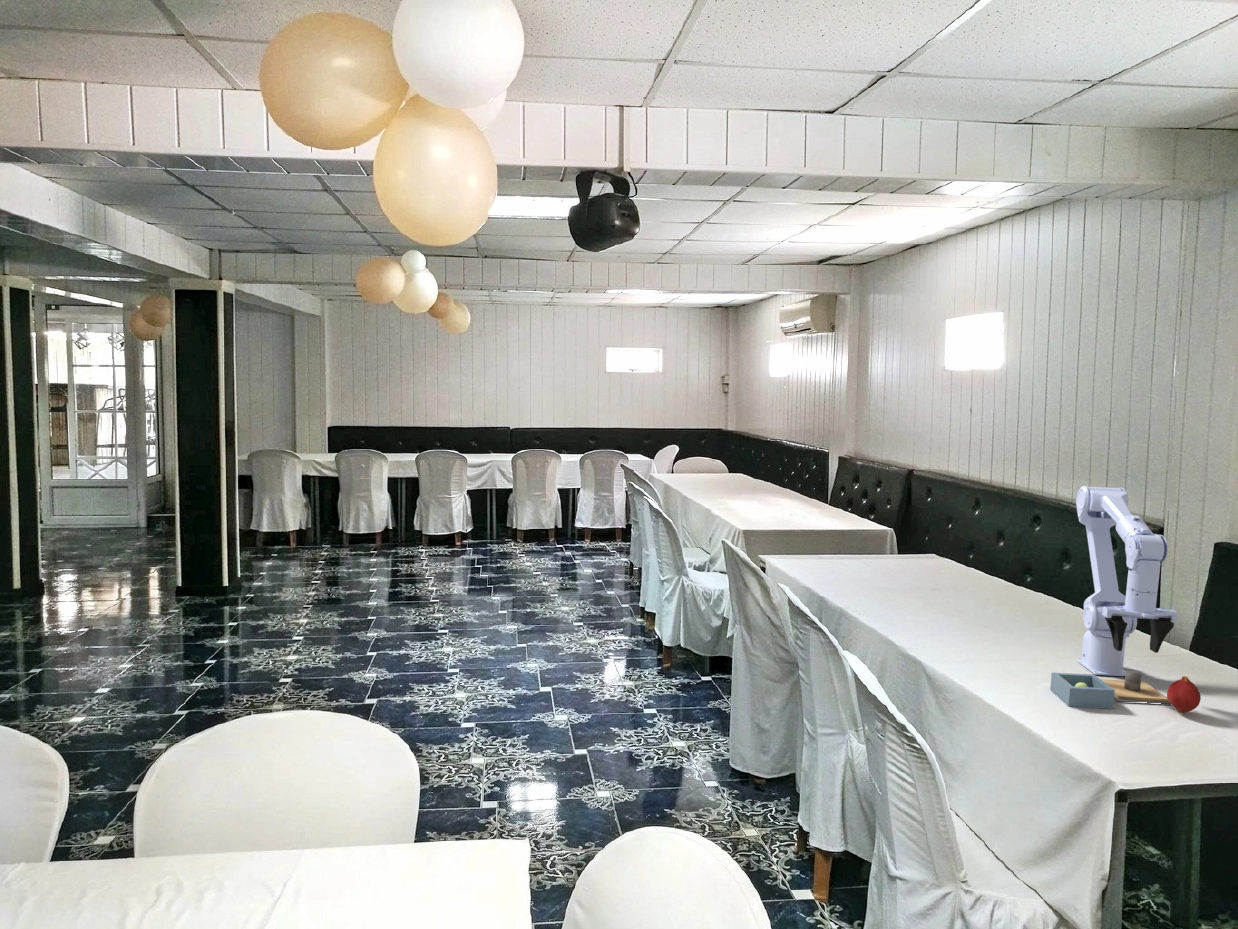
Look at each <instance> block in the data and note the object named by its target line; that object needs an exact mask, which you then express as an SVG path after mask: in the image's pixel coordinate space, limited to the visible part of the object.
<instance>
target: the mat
mask: <svg viewBox="0 0 1238 929" xmlns="http://www.w3.org/2000/svg"><path fill="white" fill-rule="evenodd" d="M1151 687H1152V688H1154V687H1153V686H1151ZM1155 690H1156V691H1158V690H1157V689H1155ZM1158 692H1159V691H1158ZM1159 693H1160V694H1162V695H1163V696H1165V695H1164V694H1163V693H1161V692H1159ZM1165 697H1166V698H1167V695H1166V696H1165ZM1167 699H1168V698H1167ZM1114 700H1115V701H1114V702H1115V703H1117V702H1147V703H1161V704H1171V703H1170V702H1169V700H1168V702H1160V701H1144V700H1129V699H1118V698H1117V697H1115V696H1114Z"/></svg>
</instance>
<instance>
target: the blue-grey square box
mask: <svg viewBox="0 0 1238 929" xmlns="http://www.w3.org/2000/svg"><path fill="white" fill-rule="evenodd" d="M1101 679H1102V678H1099V676H1098V675H1095V674H1094V673H1093V674H1092V673H1091V674H1090V673H1089V674H1088V673H1069V672H1051V677H1050V686H1049V687H1050V688H1049V690H1050V691H1051V693H1053V694H1054V695H1055V696H1056V695H1057V696H1058V697H1057V696H1056V697H1057V698H1059V699H1060V700H1061V702H1063V703H1064V702H1065V703H1066V704H1067V707H1071V706H1073V707H1075V708H1092V709H1093V708H1094V709H1097V708H1098V709H1111V708H1113V709H1114V702H1115V701H1114V694H1115V690H1114V689H1113V688H1111V687H1110V686H1109V685H1107V684H1106V683H1105V682H1103V681H1102V680H1101ZM1080 682H1081V683H1085V684H1086V685H1087V686H1088V687H1075V685H1076V684H1077V683H1080ZM1065 703H1064V704H1065ZM1066 704H1065V705H1066Z"/></svg>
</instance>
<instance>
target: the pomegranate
mask: <svg viewBox="0 0 1238 929" xmlns="http://www.w3.org/2000/svg"><path fill="white" fill-rule="evenodd" d="M1166 697H1167V698H1168V700H1169V702H1170V703H1171V704H1172V705H1171V706H1172V707H1173V708H1174V709H1176V711H1177V712H1178V713H1180V714H1182V713H1183V714H1186V713H1189V712H1191V711H1194V710H1195V709H1196V708H1198V707H1199V705H1200V703H1201V693H1200V690H1199V689H1198V687H1197V686H1196V685H1195V684H1194V682H1192V681H1191V680H1190V679H1189V677H1188V676H1185V675H1184V676H1181V679H1177V680H1175V681H1173V682H1172V683H1171V684H1169V686H1168V688H1167V692H1166Z"/></svg>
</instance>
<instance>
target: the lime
mask: <svg viewBox="0 0 1238 929" xmlns="http://www.w3.org/2000/svg"><path fill="white" fill-rule="evenodd" d="M1075 687H1088V686H1087V685H1086V684H1085V683H1081V682H1080V683H1077V684H1076V685H1075Z"/></svg>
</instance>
